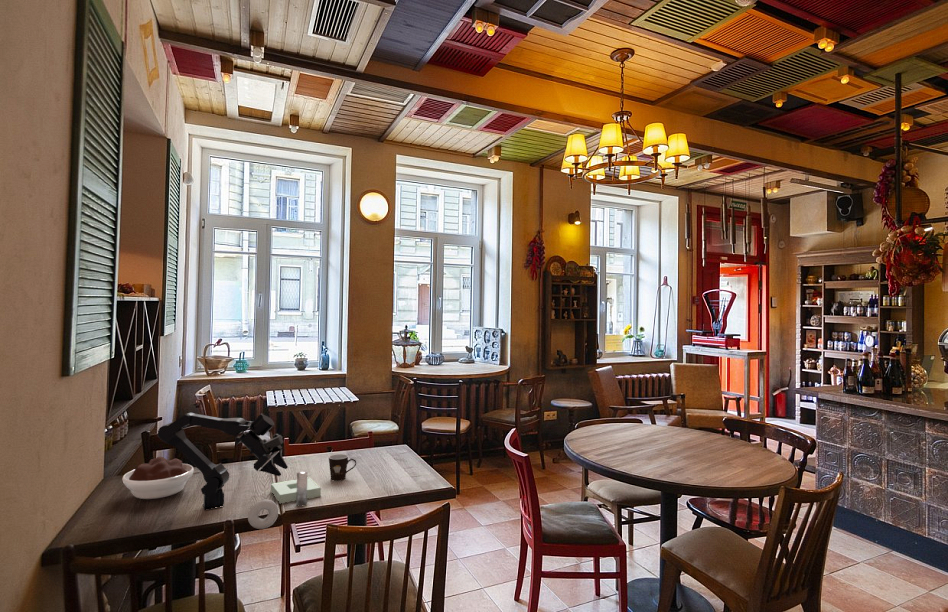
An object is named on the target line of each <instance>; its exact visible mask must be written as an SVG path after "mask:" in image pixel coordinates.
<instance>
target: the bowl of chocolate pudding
mask: <svg viewBox="0 0 948 612" xmlns="http://www.w3.org/2000/svg"><path fill="white" fill-rule="evenodd" d="M194 471H195V469H194V466H193V465H191V464H188V463H183V461H182V460H181V459H178V458H173V459H171V460H168V459H166V458H165V457H163V456H157V457H155V458H151V459H150V460H149V461H148V463H145V462H143V463H142V464H141V463H140V464H139V465H138V466H137V467H136V468H135V469H132V470H130V471H128V472H126V473H125V474H124V475H123V476H122V483H123V485H124V486H125V487H126V488H127V489H128V490H129V491H130V493H131V494H132V495H133V497H134V498H137V499H142V500H152V499H153V500H154V499H162V498H165V497H166V498H167V497H169V496H173V495H176V494H178V493H180V491H182V490H183V489H184V488H185V486H186V484H187V482H188V481H189V480H190V479H191V477H192V476H193V474H194Z"/></svg>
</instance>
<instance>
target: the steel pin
mask: <svg viewBox="0 0 948 612" xmlns="http://www.w3.org/2000/svg"><path fill="white" fill-rule="evenodd" d="M307 478H308V471H307V470H300V471H297V472H296V479H297V491H296V501H295V502H296V503H295V505H296V506H297V505H299V506H298V507H303V506H302V505H305V506H306V504H308V499H307Z"/></svg>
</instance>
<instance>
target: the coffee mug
mask: <svg viewBox="0 0 948 612" xmlns="http://www.w3.org/2000/svg"><path fill="white" fill-rule="evenodd" d="M351 461H353V462H354V465H353V466H352V467H350V468H349V469H347V468H348V464H349V462H351ZM328 464H329V475H330V480H331V481H332V480H334V481H333V482H341V481H344V480H346V476H347V473H348V472H349V471H352V470H353V469H354V468H355V467H356V466H357V460H356V459H354V458H350V459H349V456H348V454H344V453H343V454H342V453H336V454H331V455H329V456H328ZM340 480H341V481H340Z"/></svg>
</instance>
